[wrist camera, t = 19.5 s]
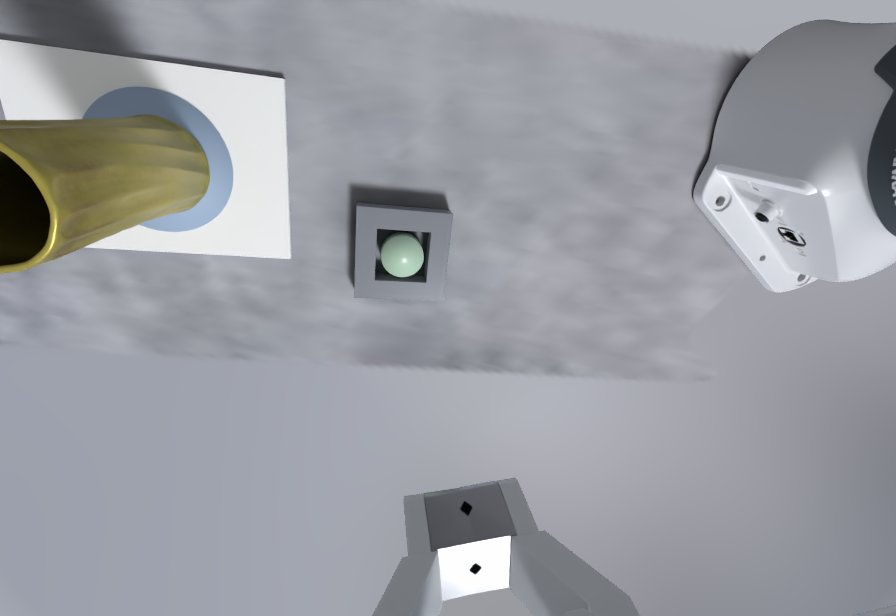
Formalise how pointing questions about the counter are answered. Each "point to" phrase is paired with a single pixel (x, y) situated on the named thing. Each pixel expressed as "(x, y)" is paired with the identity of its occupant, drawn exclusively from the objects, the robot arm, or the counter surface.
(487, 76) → the counter surface
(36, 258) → the vase
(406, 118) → the counter surface
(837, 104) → the robot arm
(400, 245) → the button
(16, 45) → the paper pad
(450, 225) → the button collar
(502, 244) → the counter surface
